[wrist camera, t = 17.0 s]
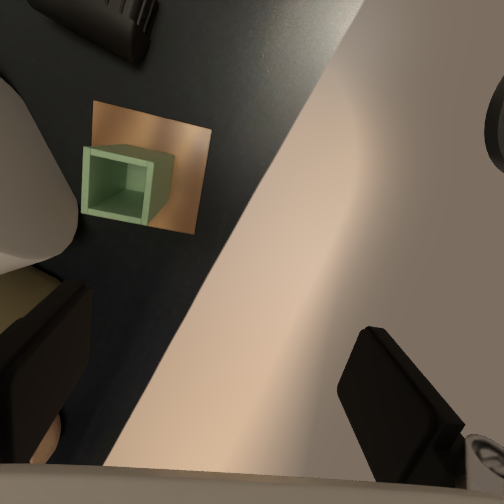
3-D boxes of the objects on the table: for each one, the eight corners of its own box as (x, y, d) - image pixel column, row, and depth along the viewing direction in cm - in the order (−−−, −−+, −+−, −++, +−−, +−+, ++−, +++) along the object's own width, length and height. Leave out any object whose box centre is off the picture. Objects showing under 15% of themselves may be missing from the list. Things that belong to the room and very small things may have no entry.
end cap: (52, 22, 32) (11, -6, 26) (70, -53, 30) (29, -103, 24) (142, 71, 35) (124, 56, 28) (164, 4, 33) (150, -28, 26)
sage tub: (174, 155, 38) (154, 162, 26) (168, 201, 40) (147, 225, 28) (125, 143, 37) (82, 146, 26) (121, 191, 39) (80, 213, 27)
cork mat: (212, 129, 37) (212, 129, 37) (194, 233, 42) (194, 234, 42) (95, 100, 35) (93, 100, 35) (89, 213, 40) (88, 214, 39)
